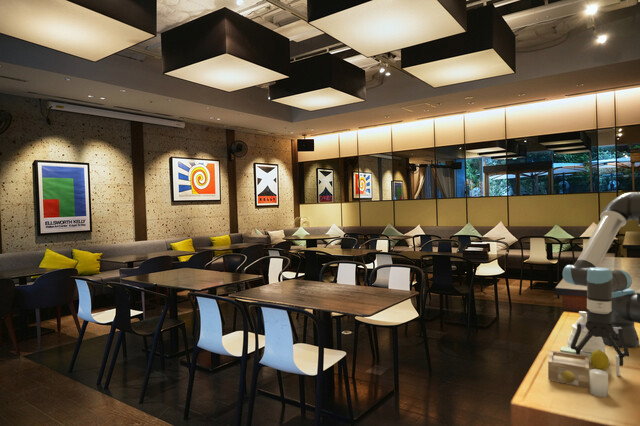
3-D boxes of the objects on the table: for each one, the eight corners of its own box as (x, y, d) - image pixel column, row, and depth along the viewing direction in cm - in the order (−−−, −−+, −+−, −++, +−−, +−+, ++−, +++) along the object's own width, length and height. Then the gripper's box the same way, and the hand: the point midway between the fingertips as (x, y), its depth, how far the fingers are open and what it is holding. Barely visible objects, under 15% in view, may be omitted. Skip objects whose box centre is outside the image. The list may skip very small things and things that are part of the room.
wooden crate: (550, 368, 159) (550, 350, 158) (588, 375, 152) (588, 356, 152) (548, 381, 148) (548, 361, 148) (588, 389, 142) (589, 368, 141)
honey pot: (591, 364, 161) (591, 317, 160) (559, 353, 173) (560, 309, 172) (612, 358, 166) (613, 313, 165) (581, 348, 178) (581, 305, 177)
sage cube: (562, 358, 168) (562, 345, 167) (576, 361, 165) (576, 348, 164) (560, 362, 164) (560, 349, 163) (575, 365, 161) (575, 352, 160)
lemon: (603, 375, 151) (603, 353, 151) (587, 370, 156) (587, 348, 155) (611, 372, 153) (612, 350, 153) (596, 367, 158) (596, 346, 158)
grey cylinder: (601, 389, 141) (601, 368, 140) (611, 396, 136) (611, 375, 135) (586, 390, 140) (586, 369, 140) (596, 397, 135) (596, 375, 135)
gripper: (562, 310, 155) (562, 369, 156) (640, 317, 144) (640, 381, 145) (562, 305, 162) (562, 362, 163) (636, 312, 151) (636, 373, 152)
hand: (599, 371), depth 154 cm, fingers open, 10 cm apart
